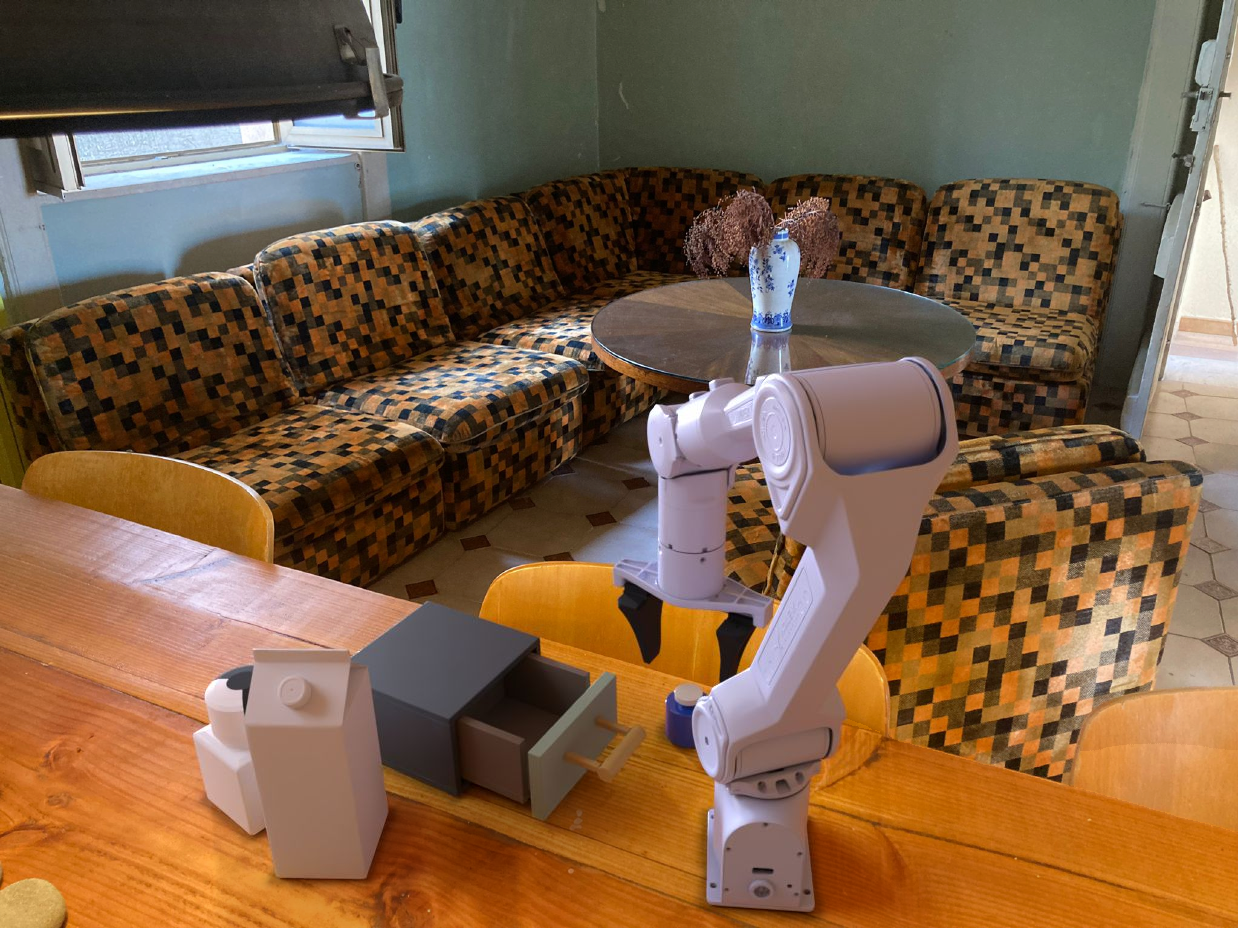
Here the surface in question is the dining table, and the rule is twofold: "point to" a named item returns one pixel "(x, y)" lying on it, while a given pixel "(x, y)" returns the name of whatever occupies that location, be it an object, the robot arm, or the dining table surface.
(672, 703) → the spice bottle
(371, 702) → the milk carton
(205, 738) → the medicine bottle
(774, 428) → the robot arm
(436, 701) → the cabinet
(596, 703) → the drawer
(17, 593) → the dining table surface
